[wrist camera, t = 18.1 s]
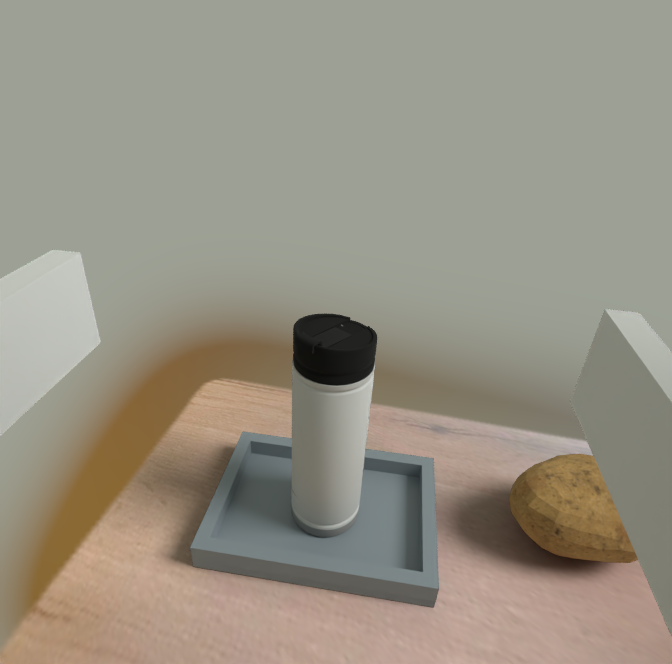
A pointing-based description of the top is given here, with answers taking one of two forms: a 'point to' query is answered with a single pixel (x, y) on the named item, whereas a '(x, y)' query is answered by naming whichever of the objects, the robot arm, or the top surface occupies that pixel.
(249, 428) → the top surface
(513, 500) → the potato
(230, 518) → the tray
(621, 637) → the top surface
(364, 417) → the travel mug
